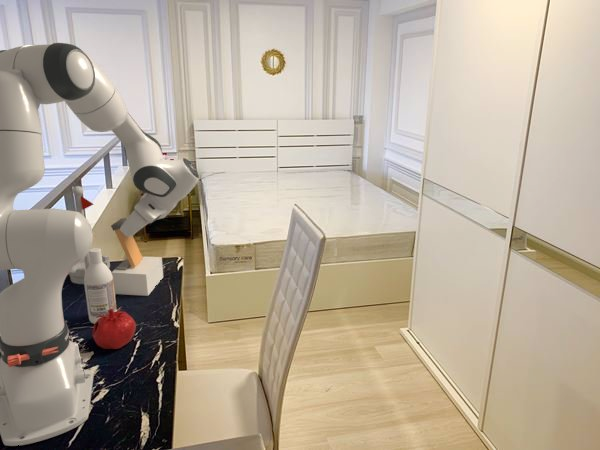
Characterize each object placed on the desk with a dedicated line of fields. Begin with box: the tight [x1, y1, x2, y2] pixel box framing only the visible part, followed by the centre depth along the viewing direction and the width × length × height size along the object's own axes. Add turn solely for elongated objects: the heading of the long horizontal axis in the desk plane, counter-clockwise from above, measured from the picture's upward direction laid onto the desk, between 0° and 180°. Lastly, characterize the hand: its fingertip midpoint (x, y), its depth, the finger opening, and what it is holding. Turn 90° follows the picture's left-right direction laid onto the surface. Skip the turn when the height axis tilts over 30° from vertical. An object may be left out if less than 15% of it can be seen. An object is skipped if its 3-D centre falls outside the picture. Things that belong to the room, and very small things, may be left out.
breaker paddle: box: [110, 217, 144, 267], centre depth 138 cm, size 2×6×14 cm, turn 176°
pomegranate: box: [91, 308, 137, 350], centre depth 111 cm, size 10×10×9 cm
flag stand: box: [67, 185, 111, 285], centre depth 142 cm, size 13×13×30 cm
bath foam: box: [83, 247, 118, 324], centre depth 119 cm, size 7×7×20 cm
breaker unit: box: [111, 255, 164, 297], centre depth 141 cm, size 10×13×8 cm
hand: (127, 233), depth 137 cm, fingers closed, pressing on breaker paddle
